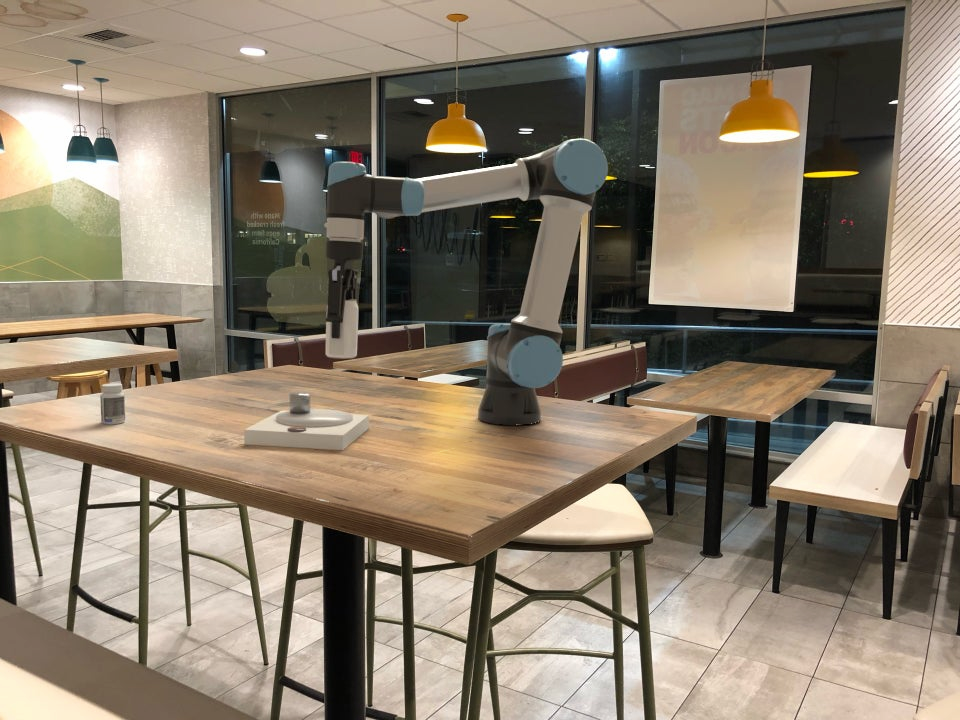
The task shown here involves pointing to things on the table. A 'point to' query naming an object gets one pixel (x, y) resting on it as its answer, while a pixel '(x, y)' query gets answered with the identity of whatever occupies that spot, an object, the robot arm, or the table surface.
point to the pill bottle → (112, 404)
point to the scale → (308, 429)
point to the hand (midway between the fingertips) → (341, 352)
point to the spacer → (299, 403)
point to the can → (346, 331)
